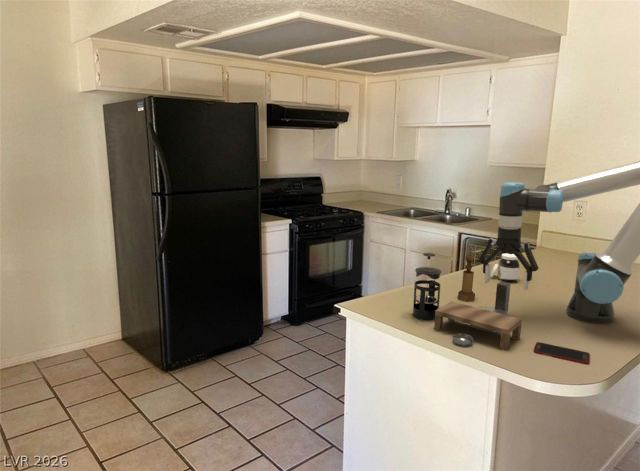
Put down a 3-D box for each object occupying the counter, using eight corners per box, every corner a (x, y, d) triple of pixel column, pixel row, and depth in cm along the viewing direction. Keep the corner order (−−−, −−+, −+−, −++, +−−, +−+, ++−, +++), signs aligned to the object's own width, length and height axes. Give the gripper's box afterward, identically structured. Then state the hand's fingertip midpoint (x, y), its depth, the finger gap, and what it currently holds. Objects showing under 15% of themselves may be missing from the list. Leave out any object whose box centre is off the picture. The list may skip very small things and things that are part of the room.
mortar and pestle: (475, 302, 183) (479, 257, 180) (458, 300, 184) (461, 256, 181) (473, 296, 190) (477, 253, 186) (457, 295, 191) (460, 252, 187)
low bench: (520, 338, 151) (522, 319, 149) (506, 350, 142) (508, 330, 141) (450, 318, 166) (451, 301, 165) (434, 328, 157) (435, 310, 156)
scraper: (513, 317, 168) (517, 284, 166) (493, 333, 154) (496, 298, 152) (491, 311, 174) (494, 280, 171) (469, 326, 160) (472, 292, 157)
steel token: (476, 344, 147) (476, 338, 146) (465, 349, 143) (466, 343, 142) (459, 337, 151) (459, 331, 151) (448, 342, 147) (449, 336, 147)
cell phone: (588, 366, 133) (589, 363, 133) (532, 353, 141) (533, 350, 140) (589, 355, 140) (590, 352, 140) (536, 344, 147) (536, 341, 147)
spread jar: (520, 283, 207) (523, 258, 205) (494, 283, 207) (496, 257, 205) (510, 275, 219) (512, 251, 216) (485, 275, 219) (487, 251, 216)
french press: (433, 323, 162) (437, 258, 157) (407, 317, 167) (410, 254, 162) (443, 312, 172) (448, 251, 167) (419, 307, 176) (422, 248, 172)
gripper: (551, 229, 158) (546, 290, 162) (479, 222, 174) (476, 277, 179) (544, 232, 153) (539, 295, 157) (470, 225, 169) (468, 281, 173)
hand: (505, 285), depth 168 cm, fingers open, 13 cm apart
